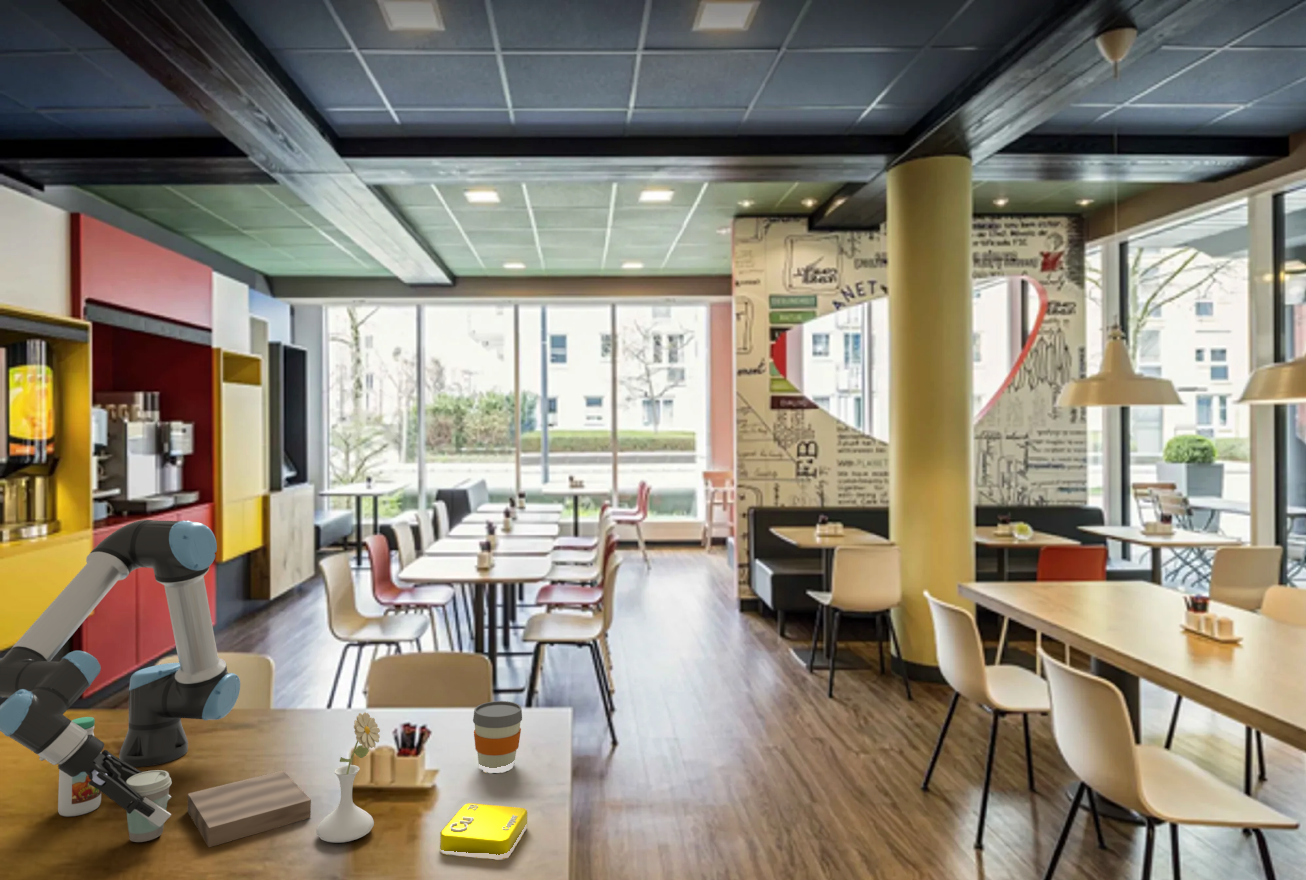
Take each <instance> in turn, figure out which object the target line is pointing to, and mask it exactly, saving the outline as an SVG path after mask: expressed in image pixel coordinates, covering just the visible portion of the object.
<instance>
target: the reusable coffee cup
mask: <svg viewBox="0 0 1306 880" xmlns="http://www.w3.org/2000/svg"><path fill="white" fill-rule="evenodd" d="M522 710H523V709H522V706H521V705H520V704H519V703H518V702H517V703H516V702H514V701H508V700H507V701H506V700H498V701H497V700H495V701H493V700H492V701H488V702H484V703H481V704H479V705H477V706H475V708H474V711H473V717H472V721H473V724H474V731H473V738H474V746H475V748H474V749H475V751H476V752H477V760H478V765H479V764H480V765H482V766H485V767H489V768H497V767H501V766H506V765H508V764H510V763H512V762H513V761H514V760H515V761H516V755H517V750H518V749H519V745H520V738H521V732H522V728H521V721H523V712H522Z"/></svg>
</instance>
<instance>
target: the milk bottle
mask: <svg viewBox="0 0 1306 880" xmlns="http://www.w3.org/2000/svg"><path fill="white" fill-rule="evenodd" d="M71 721H73V722H74V723H76V724H77V725H79V726H80V727H82V728H83V729H85V730H86V731H87V735H91V734H92V735H93V736H95V734H94V729H95V723H96V721H95V718H94V717H92V716H83V717H79V718H74V719H72V720H71ZM58 770H59V771H58V772H59V773H58V792H57V793H58V797H57V798H58V799H57V811H58V814H59V815H60V816H62V817H76V816H77V817H78V816H82V815H86V814H88V813H91V812H93V811H95V810H96V809H98V808H99V807H100V805H101V803H102V792H101V791H100V790H98V789H97V788H95V787H93V786H91V785H90V784H89V782H90V781H91V779H90V778H89V775H87V774H86V772H81V773H80V774H79V775H77V776H75V777H71V776H69V775H68V774H66V773H64V772H63V771H61V770H60V769H58Z"/></svg>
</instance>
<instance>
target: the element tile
mask: <svg viewBox="0 0 1306 880" xmlns="http://www.w3.org/2000/svg"><path fill="white" fill-rule="evenodd" d="M526 824H527V825H528V810H527V809H526V808H525V807H524V808H523V807H517V806H516V807H515V806H506V805H495V804H485V803H475V802H468V803H465V804H464V805H462V806H461V807H460V808H459V809H458V811H457V812H456V813H455V814H454V815H453V817H452V818H450V820H449V821H448V823H447V824H446V825H445V826H444V827H443V828H442V830H441V831H440V832H439V833H440V836H439V837H440V839H439V841H440V842H439V850H440V849H441V850H444V851H454V852H456V851H457V852H466V853H467V852H468V853H489V854H496V855H497V854H498V855H500V854H504V853H507V852H508V851H510V849H511V848H512V847H513V845H514V843H515V842H516V840H517V838H518V837H519V835H520V834H521V832H522V830H523V829H524V827H525V825H526Z"/></svg>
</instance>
